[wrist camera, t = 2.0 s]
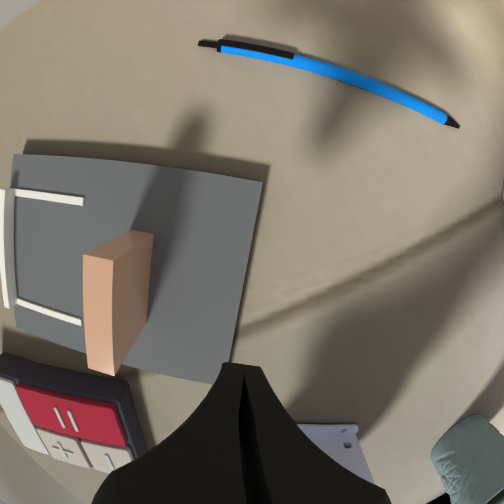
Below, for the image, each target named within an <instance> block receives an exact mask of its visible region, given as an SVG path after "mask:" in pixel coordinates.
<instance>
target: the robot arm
mask: <svg viewBox="0 0 504 504" xmlns="http://www.w3.org/2000/svg"><path fill="white" fill-rule="evenodd" d="M358 429H359V428H358V426H357V425H355V424H352V425H315V424H296V423H295V422H294V421H293V419H292V418H291V417H290V415H289V414H288V413H287V411H286V410H285V408H284V407H283V405H282V404H281V402H280V401H279V399H278V398H277V396H276V395H275V393H274V391H273V390H272V388H271V386H270V384H269V382H268V380H267V379H266V377H265V375H264V373H263V370H262V369H261V367H259V366H251V365H244V364H237V363H231V362H224V363H222V366H221V370H220V373H219V375H218V377H217V379H216V381H215V383H214V384H213V386H212V387H211V389H210V391H209V392H208V394H207V395H206V397H205V398H204V399H203V401H202V402H201V403H200V405H199V406H198V407H197V408H196V410H195V411H194V412H193V413H192V414H191V415H190V416H189V418H188V419H187V420H186V421H185V422H184V423H183V424H182V425H181V426H180V427H179V428H177V429H176V430H175V431H174V432H173V433H172V434H171V435H170V436H168V437H167V438H166V439H165V440H163V441H162V442H161V443H159V444H158V445H157V446H155V447H154V448H152V449H151V450H149V451H148V452H146V453H145V454H143V455H142V456H140V457H138V458H137V459H135V460H133V461H131V462H129V463H127V464H125V465H123V466H121V467H119V468H117V469H115V470H113V471H112V472H111V473H110V474H109V475H108V476H107V478H106V479H105V480H104V482H103V483H102V485H101V486H100V487H99V489H98V491H97V493H96V494H95V496H94V498H93V501H92V504H391V501H390V499H389V497H388V495H387V493H386V491H385V489H383V488H381V487H379V486H377V485H375V484H374V482H373V478H372V475H371V473H370V470H369V467H368V465H367V462H366V460H365V457H364V454H363V452H362V449H361V447H360V444H359V442H358V439H357V436H356V433H357V431H358ZM0 504H6V503H4V502H3V501H1V500H0ZM502 504H504V503H502Z"/></svg>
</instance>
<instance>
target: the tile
mask: <svg viewBox="0 0 504 504" xmlns="http://www.w3.org/2000/svg"><path fill="white" fill-rule="evenodd" d="M153 238H154V234H152V233H147V232H141V231H135V230H130V231H128V232H126V233H123V234H121V235H119V236H117V237H115V238H114V239H112V240H110V241H108V242H106V243H104V244H102V245H100V246H98V247H96V248H94V249H92V250H90V251H88V252H86V253H85V254H83V311H84V329H85V342H86V353H87V362H88V368H90V369H93V370H96V371H99V372H102V373H106V374H109V375H112V376H115V374H116V372H117V371H118V369H119V367H120V366H121V364H122V362H123V361H124V359H125V357H126V356H127V354H128V353H129V351H130V349H131V348H132V346H133V344H134V343H135V341H136V340H137V338H138V336H139V335H140V333H141V332H142V330H143V328H144V327H145V325H146V324H147V309H148V293H149V279H150V268H151V257H152V247H153Z"/></svg>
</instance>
